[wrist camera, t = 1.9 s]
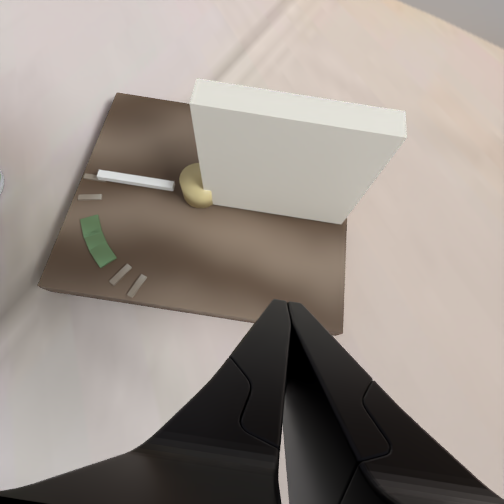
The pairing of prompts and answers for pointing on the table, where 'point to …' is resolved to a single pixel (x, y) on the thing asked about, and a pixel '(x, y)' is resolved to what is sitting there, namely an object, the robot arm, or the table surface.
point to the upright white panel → (281, 152)
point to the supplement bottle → (1, 181)
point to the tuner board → (185, 233)
